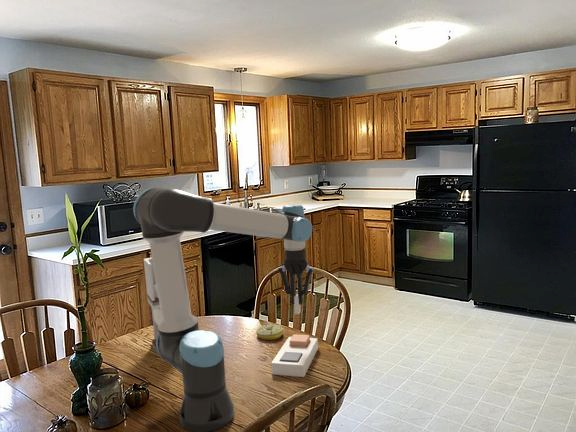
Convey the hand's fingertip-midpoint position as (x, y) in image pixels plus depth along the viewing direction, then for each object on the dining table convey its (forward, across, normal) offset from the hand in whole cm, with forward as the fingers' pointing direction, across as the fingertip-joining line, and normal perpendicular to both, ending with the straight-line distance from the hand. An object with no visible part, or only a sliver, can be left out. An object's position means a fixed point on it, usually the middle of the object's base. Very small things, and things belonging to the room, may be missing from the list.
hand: (297, 312), depth 164 cm
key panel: (+16, 0, +6) cm, 17 cm away
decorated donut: (+16, +16, -14) cm, 27 cm away
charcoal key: (+14, 0, +12) cm, 18 cm away
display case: (+16, +53, +2) cm, 55 cm away
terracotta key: (+13, 0, 0) cm, 13 cm away
